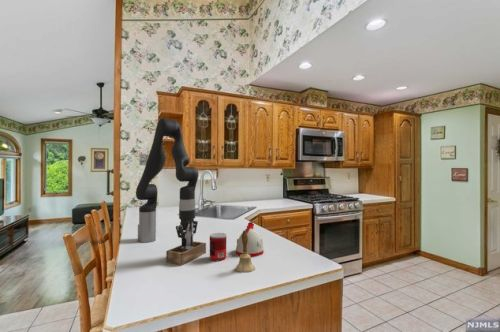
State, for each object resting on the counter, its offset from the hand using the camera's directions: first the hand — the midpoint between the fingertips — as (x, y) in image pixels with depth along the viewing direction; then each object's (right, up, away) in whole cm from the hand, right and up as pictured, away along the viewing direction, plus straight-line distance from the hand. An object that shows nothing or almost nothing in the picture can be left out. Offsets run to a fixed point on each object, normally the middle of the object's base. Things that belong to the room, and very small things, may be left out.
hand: (187, 244), depth 120 cm
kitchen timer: (+30, -6, +7) cm, 31 cm away
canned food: (+15, -6, -1) cm, 16 cm away
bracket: (0, -3, 0) cm, 3 cm away
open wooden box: (0, -6, 0) cm, 6 cm away
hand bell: (+28, -6, -14) cm, 32 cm away
